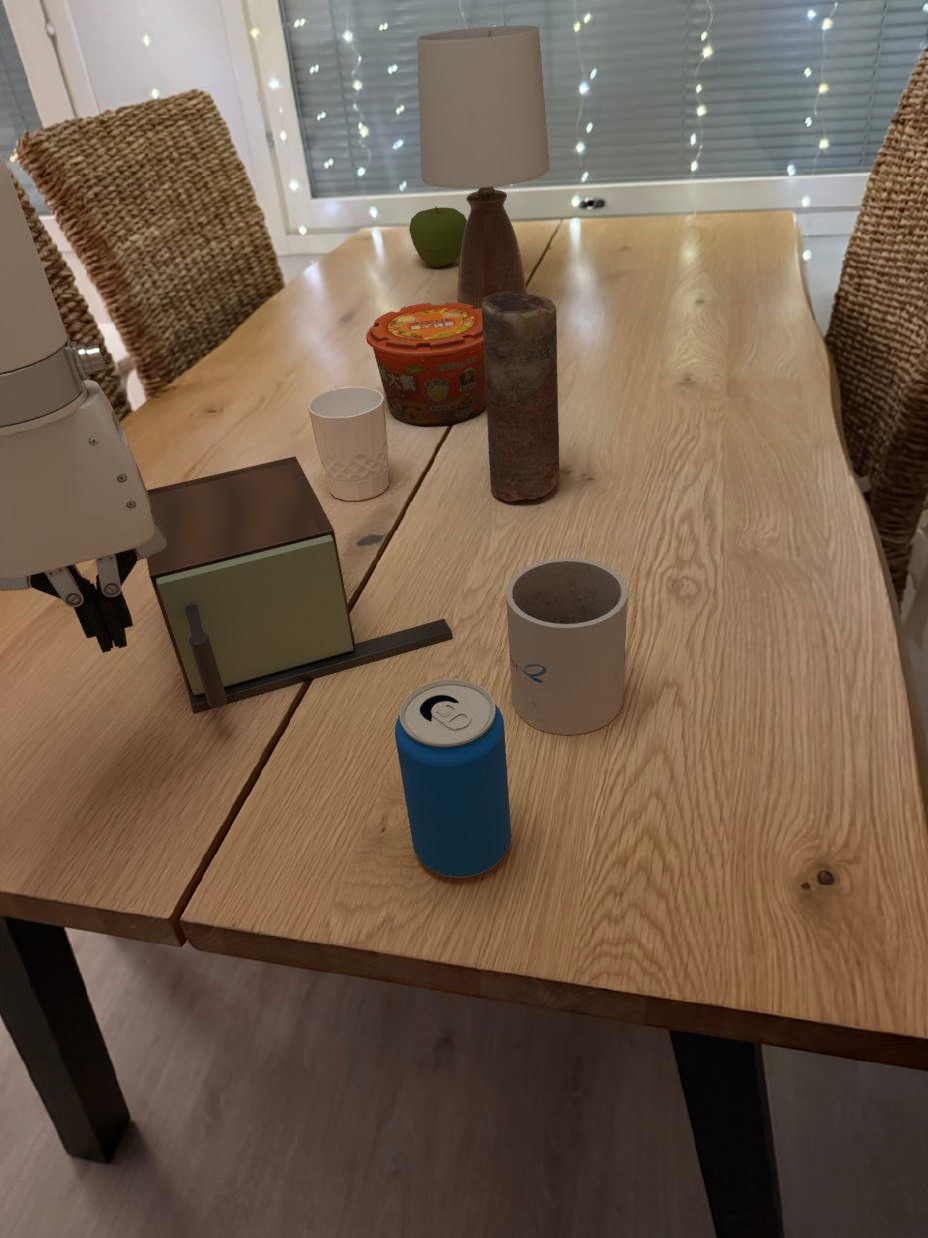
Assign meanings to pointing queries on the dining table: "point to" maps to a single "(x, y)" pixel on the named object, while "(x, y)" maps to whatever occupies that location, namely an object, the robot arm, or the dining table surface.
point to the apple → (438, 235)
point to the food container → (431, 362)
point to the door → (257, 615)
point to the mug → (567, 644)
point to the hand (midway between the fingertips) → (113, 637)
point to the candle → (521, 394)
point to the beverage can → (454, 776)
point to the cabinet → (251, 523)
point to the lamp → (483, 140)
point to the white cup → (351, 441)
